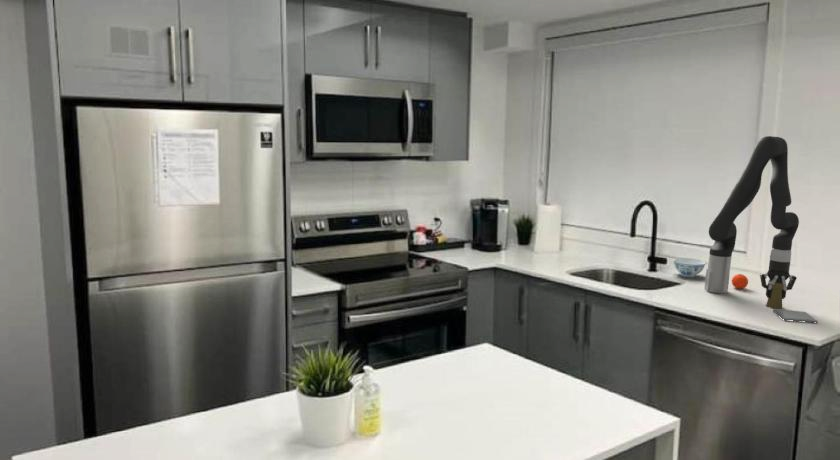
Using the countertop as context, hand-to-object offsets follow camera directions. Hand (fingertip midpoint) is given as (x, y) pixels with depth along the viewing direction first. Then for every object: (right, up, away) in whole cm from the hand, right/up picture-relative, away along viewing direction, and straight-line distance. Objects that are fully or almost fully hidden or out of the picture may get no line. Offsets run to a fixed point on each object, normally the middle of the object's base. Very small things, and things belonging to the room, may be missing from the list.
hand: (775, 298), depth 258 cm
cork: (0, -4, +1) cm, 4 cm away
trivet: (0, -6, -13) cm, 15 cm away
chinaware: (-15, +5, +51) cm, 53 cm away
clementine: (0, +1, +29) cm, 29 cm away
